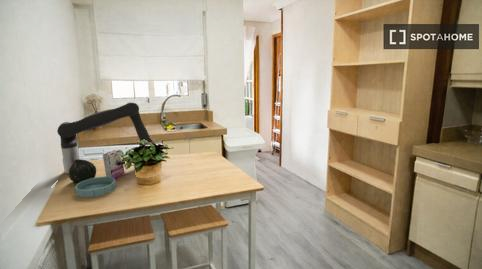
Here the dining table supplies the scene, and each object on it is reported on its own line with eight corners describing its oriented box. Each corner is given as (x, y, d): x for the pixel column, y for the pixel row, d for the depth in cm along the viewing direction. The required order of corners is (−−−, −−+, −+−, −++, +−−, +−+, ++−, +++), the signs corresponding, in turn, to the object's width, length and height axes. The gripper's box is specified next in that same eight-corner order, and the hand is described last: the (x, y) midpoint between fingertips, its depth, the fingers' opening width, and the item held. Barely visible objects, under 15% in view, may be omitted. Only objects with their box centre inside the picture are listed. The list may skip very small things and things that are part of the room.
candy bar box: (118, 173, 190) (115, 149, 186) (125, 174, 188) (122, 149, 185) (105, 179, 180) (102, 154, 176) (112, 180, 178) (108, 154, 174)
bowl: (68, 194, 160) (66, 187, 159) (98, 181, 178) (98, 174, 177) (93, 200, 152) (92, 192, 151) (123, 185, 169) (122, 179, 169)
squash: (104, 167, 185) (85, 151, 182) (94, 177, 171) (73, 159, 167) (90, 182, 187) (71, 166, 184) (78, 192, 173) (57, 175, 170)
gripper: (124, 149, 198) (103, 156, 184) (140, 151, 192) (120, 158, 178) (125, 160, 200) (105, 167, 185) (141, 162, 194) (122, 170, 179)
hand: (113, 163), depth 181 cm, fingers open, 7 cm apart
